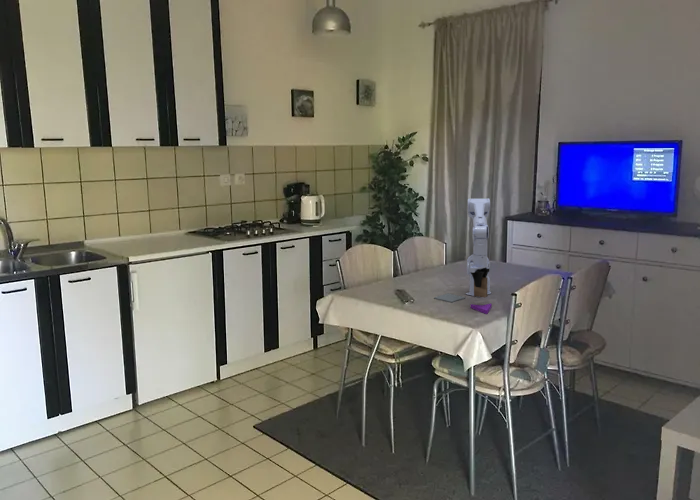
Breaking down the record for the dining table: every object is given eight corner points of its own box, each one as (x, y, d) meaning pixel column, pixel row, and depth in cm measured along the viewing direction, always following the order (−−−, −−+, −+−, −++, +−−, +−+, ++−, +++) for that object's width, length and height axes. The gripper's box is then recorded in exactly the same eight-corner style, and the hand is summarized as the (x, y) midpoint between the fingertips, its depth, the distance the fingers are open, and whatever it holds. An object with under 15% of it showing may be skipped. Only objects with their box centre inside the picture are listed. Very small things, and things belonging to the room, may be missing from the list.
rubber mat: (447, 294, 271) (447, 293, 271) (465, 298, 263) (465, 297, 263) (433, 298, 264) (433, 297, 264) (451, 302, 257) (451, 301, 257)
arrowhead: (478, 301, 252) (499, 305, 246) (478, 304, 253) (499, 308, 246) (465, 306, 245) (487, 310, 238) (465, 309, 246) (486, 314, 239)
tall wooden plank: (476, 294, 249) (476, 276, 248) (487, 296, 246) (487, 277, 245) (473, 296, 247) (473, 277, 246) (484, 297, 244) (484, 278, 243)
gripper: (479, 250, 252) (479, 281, 254) (462, 256, 241) (462, 288, 243) (494, 252, 247) (494, 283, 250) (478, 258, 236) (478, 290, 239)
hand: (479, 286), depth 246 cm, fingers closed on tall wooden plank, 2 cm apart
